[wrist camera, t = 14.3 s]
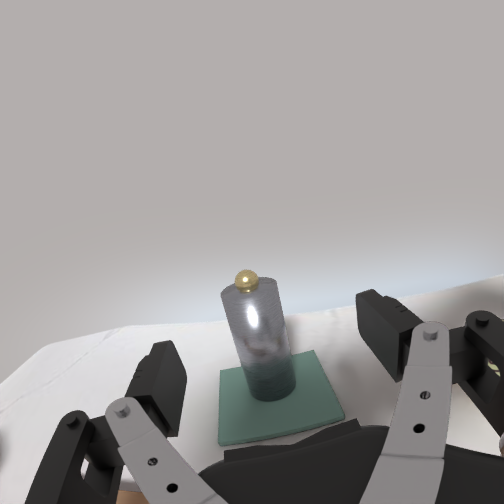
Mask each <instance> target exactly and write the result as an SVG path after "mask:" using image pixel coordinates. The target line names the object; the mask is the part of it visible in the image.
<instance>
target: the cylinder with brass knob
mask: <svg viewBox="0 0 504 504" xmlns="http://www.w3.org/2000/svg"><path fill="white" fill-rule="evenodd" d="M221 298H222V302H223V305H224V309H225V312H226V316H227V319H228V323H229V326H230V330H231V333H232V336H233V340H234V343H235V346H236V350H237V353H238V356H239V359H240V363H241V366H242V369H243V372H244V375H245V378H246V382H247V385H248V388H249V391H250V394H251V395H252V396H253V397H254V398H255V399H257V400H260V401H264V402H272V401H277V400H280V399H283V398H285V397H287V396H288V395H290V394H291V393H292V392H293V390H294V389H295V387H296V378H295V372H294V367H293V362H292V357H291V352H290V346H289V341H288V336H287V331H286V326H285V321H284V316H283V311H282V306H281V302H280V297H279V292H278V287H277V283H276V281H275V280H274V279H272V278H267V277H258V276H257V275H256V273H255V272H253V271H251V270H243V271H241V272H239V273H238V274H237V276H236V278H235V283H234V284H232V285H230V286H228V287H226V288H225V289H224V290H223V291H222V292H221Z"/></svg>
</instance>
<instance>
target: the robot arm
mask: <svg viewBox="0 0 504 504" xmlns="http://www.w3.org/2000/svg"><path fill="white" fill-rule="evenodd" d="M356 310H357V322H358V329H359V333H360V335H361V337H362V339H363V340H364V341H365V343H366V344H367V345H368V346H369V348H370V349H371V350H372V352H373V353H374V354H375V356H376V357H377V358H378V359H379V361H380V362H381V363H382V365H383V366H384V367H385V369H386V370H387V371H388V373H389V374H390V375H391V377H392V378H393V379H394V381H395V382H396V383H397V382H399V381H401V380H402V384H401V388H400V392H399V396H398V400H397V404H396V408H395V411H394V415H393V418H392V422H391V425H390V427H389V426H381V425H369V426H360V425H359V423H358V421H357V418H356V419H353V420H350V421H347V422H344V423H341V424H338V425H335V426H332V427H329V428H326V429H324V430H322V431H320V432H318V433H316V434H314V435H312V436H310V437H308V438H306V439H304V440H302V441H300V442H297V443H295V444H292V445H272V446H251V447H245V448H239V449H232V450H225V451H224V460H222V461H219V462H217V463H215V464H213V465H211V466H209V467H207V468H206V469H204V470H203V471H201V472H200V473H199V474H197V473H196V472H195V471H194V470H193V469H192V468H191V467H190V466H189V465H188V463H187V462H186V461H185V460H184V459H183V458H182V457H181V456H180V454H179V453H178V452H177V451H176V450H175V449H174V447H173V446H172V445H171V444H170V443H169V441H168V440H167V437H178V431H179V425H180V419H181V413H182V407H183V401H184V395H185V390H186V384H187V375H186V371H185V368H184V366H183V363H182V361H181V359H180V357H179V355H178V352H177V350H176V348H175V345H174V344H173V342H172V341H171V340H169V341H163V342H158V343H154V344H153V347H152V349H151V352H150V354H149V355H147V356H145V357H144V358H143V359H142V360H141V361H140V362H139V364H138V366H137V368H136V372H135V373H134V375H133V379H132V380H131V382H130V385H129V387H128V390H127V392H126V394H125V397H124V398H120V399H118V400H116V401H114V402H112V403H111V404H110V405H109V406H108V408H107V409H106V412H105V415H104V416H100V417H97V418H93V419H89V417H88V416H87V415H86V413H85V412H83V411H80V410H76V411H72V412H70V413H68V414H66V415H65V416H64V417H63V418H62V419H61V421H60V422H59V424H58V426H57V428H56V430H55V433H54V435H53V437H52V439H51V441H50V443H49V445H48V448H47V450H46V452H45V454H44V456H43V459H42V461H41V463H40V466H39V468H38V470H37V473H36V475H35V478H34V480H33V483H32V485H31V488H30V490H29V493H28V496H27V498H26V501H25V504H116V501H117V496H118V491H119V485H120V480H121V475H122V470H123V466H124V465H126V466H127V468H128V470H129V471H130V473H131V475H132V477H133V478H134V480H135V482H136V483H137V485H138V486H139V488H140V490H141V491H142V493H143V494H144V496H145V497H146V499H147V500H148V502H149V503H150V504H504V321H502V320H501V319H500V318H498V317H497V316H495V315H494V314H493V313H491V312H488V311H475V312H472V313H470V314H469V315H468V316H467V318H466V323H465V326H464V327H459V328H455V329H451V330H448V328H447V327H446V326H445V325H443V324H441V323H438V322H423V321H422V320H421V319H420V318H419V317H417V316H416V315H415V314H414V313H412V312H411V311H410V310H408V308H406V307H405V306H404V305H402V304H401V303H400V302H399V301H398V300H396V299H394V298H391V297H388V296H384V297H382V296H381V295H380V294H378V293H377V292H376V291H375V290H374V289H370V290H367V291H364V292H361V293H358V294H356ZM489 360H490V361H491V362H492V363H494V364H495V365H496V366H497V368H498V369H499V372H500V376H499V375H498V374H497V373H496V372H495V371H494V370H493V369H492V368H491V367H490V366H489V365H488V362H489ZM455 383H458V384H459V386H460V387H461V388H462V389H463V390H464V392H465V393H466V394H467V395H468V396H469V398H470V399H471V400H472V401H473V403H474V404H475V405H476V406H477V408H478V409H479V410H480V411H481V413H482V414H483V415H484V417H485V418H486V419H487V420H488V422H489V423H490V424H491V426H492V427H493V428H494V430H495V431H496V432H497V434H498V435H499V436H500V441H499V449H500V452H501V455H500V456H497V455H491V454H486V453H482V452H477V451H473V450H468V449H464V448H460V447H456V446H452V445H449V444H446V438H447V431H448V423H449V414H450V402H451V386H452V384H455ZM84 458H85V459H86V460H87V461H88V462H89V465H88V468H87V471H86V474H85V478H84V480H83V478H82V476H81V467H82V463H83V460H84Z"/></svg>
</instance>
